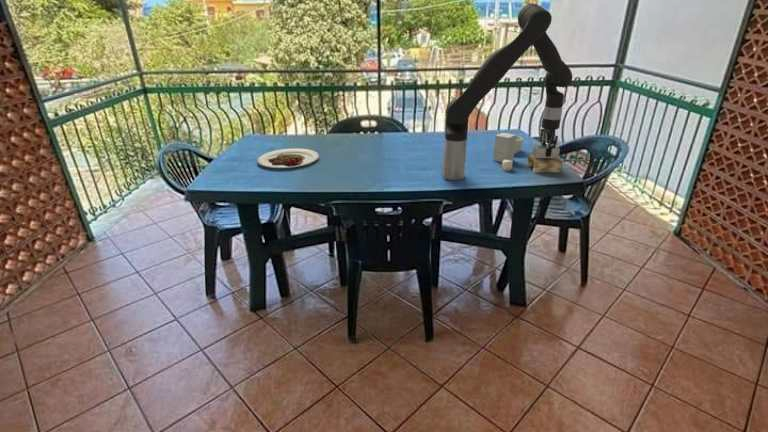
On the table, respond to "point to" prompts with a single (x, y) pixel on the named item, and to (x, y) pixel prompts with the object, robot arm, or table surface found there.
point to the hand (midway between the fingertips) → (545, 154)
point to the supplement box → (504, 147)
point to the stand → (544, 164)
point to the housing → (540, 151)
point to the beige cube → (507, 165)
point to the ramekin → (518, 144)
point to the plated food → (288, 158)
